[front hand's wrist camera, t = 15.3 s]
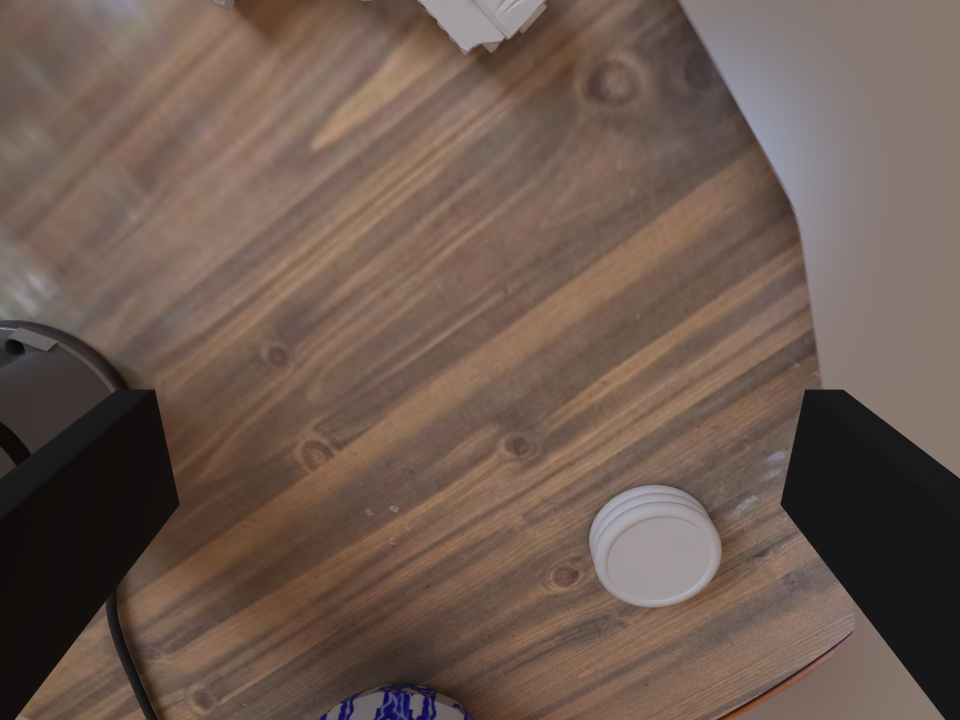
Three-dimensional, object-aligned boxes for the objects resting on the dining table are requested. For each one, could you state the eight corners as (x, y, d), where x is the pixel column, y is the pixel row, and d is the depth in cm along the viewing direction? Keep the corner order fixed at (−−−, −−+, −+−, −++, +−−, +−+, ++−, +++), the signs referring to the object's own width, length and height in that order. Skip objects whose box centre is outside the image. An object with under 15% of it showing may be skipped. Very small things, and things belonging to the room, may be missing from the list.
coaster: (733, 525, 51) (751, 553, 48) (648, 598, 54) (659, 630, 51) (647, 459, 49) (659, 484, 45) (563, 540, 52) (569, 569, 48)
